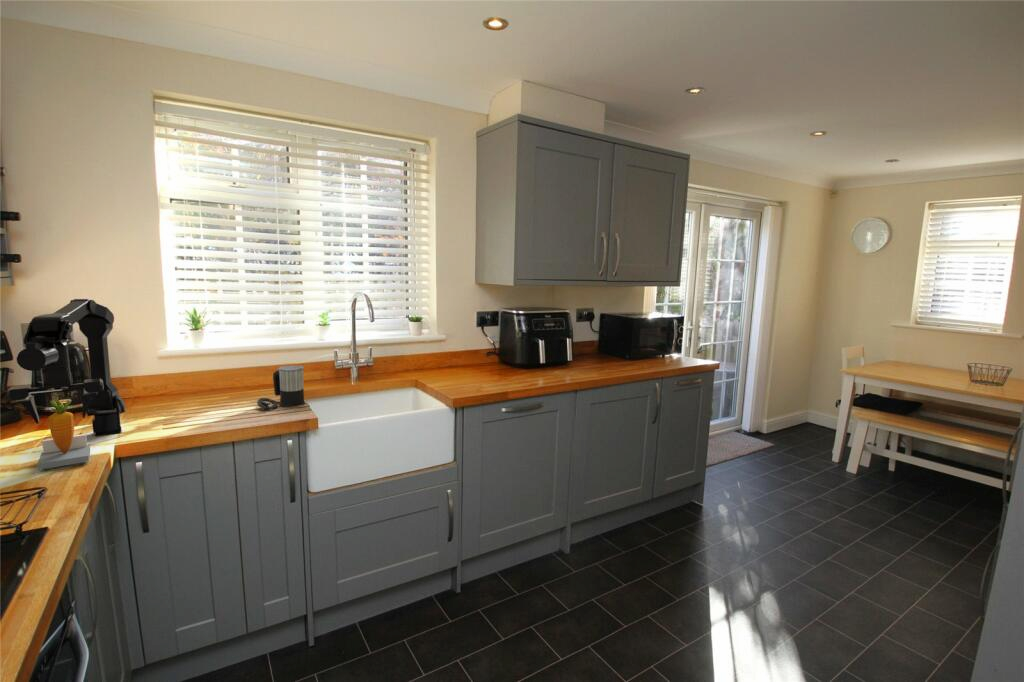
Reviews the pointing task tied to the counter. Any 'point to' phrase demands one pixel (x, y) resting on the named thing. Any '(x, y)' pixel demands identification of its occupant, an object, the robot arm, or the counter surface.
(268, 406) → the milk frother
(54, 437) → the carrot
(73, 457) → the grey and white block
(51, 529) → the counter surface
